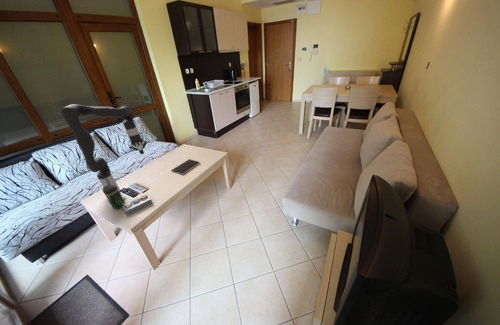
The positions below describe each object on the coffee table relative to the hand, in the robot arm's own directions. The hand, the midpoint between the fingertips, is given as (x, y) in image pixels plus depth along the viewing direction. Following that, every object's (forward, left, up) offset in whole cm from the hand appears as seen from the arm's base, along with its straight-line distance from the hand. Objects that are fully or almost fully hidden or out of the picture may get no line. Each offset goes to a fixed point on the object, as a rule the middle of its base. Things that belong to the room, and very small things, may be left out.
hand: (142, 153), depth 152 cm
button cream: (+16, -24, -31) cm, 42 cm away
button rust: (+16, -13, -31) cm, 37 cm away
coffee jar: (+4, -30, -32) cm, 44 cm away
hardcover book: (-9, +32, -33) cm, 47 cm away
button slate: (+16, -19, -31) cm, 39 cm away
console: (+16, -18, -32) cm, 40 cm away
